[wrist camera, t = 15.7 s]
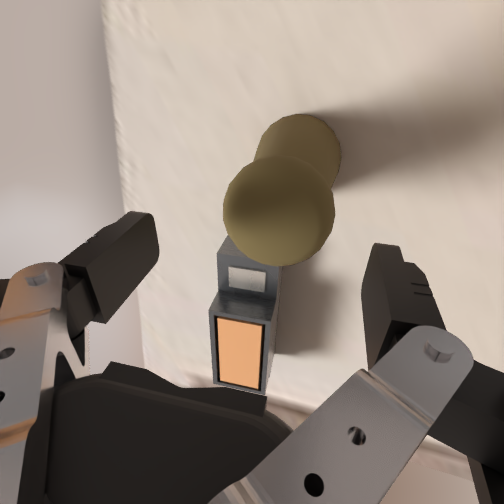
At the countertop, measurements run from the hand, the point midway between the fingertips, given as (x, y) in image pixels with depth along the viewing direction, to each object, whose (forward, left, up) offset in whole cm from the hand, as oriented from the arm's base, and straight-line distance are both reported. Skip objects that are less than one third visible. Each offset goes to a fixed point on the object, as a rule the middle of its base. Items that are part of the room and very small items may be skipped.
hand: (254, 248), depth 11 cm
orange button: (+16, -3, -10) cm, 19 cm away
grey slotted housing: (+14, -3, -13) cm, 20 cm away
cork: (0, 0, -13) cm, 13 cm away
